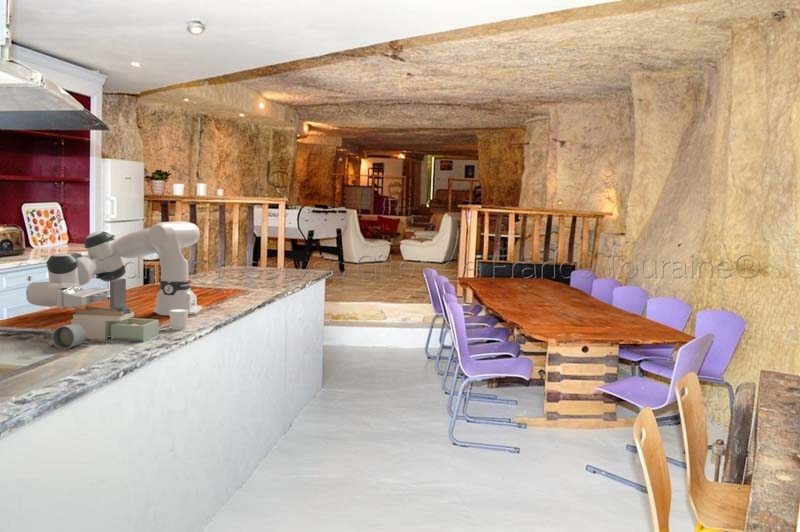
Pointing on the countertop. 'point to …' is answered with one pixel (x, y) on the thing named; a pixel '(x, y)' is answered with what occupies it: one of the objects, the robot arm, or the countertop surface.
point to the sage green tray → (134, 329)
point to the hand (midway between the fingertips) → (109, 297)
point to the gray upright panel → (118, 295)
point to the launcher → (99, 320)
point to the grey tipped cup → (68, 336)
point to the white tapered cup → (178, 319)
